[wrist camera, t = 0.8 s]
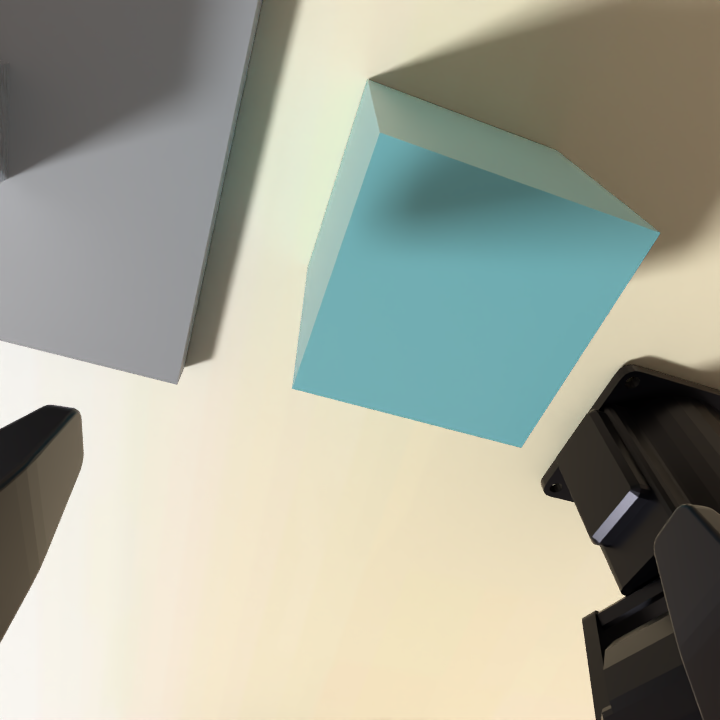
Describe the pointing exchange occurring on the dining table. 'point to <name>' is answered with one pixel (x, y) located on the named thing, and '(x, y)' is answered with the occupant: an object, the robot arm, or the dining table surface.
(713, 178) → the dining table surface
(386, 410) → the teal block
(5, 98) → the post
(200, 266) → the base board
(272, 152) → the dining table surface
